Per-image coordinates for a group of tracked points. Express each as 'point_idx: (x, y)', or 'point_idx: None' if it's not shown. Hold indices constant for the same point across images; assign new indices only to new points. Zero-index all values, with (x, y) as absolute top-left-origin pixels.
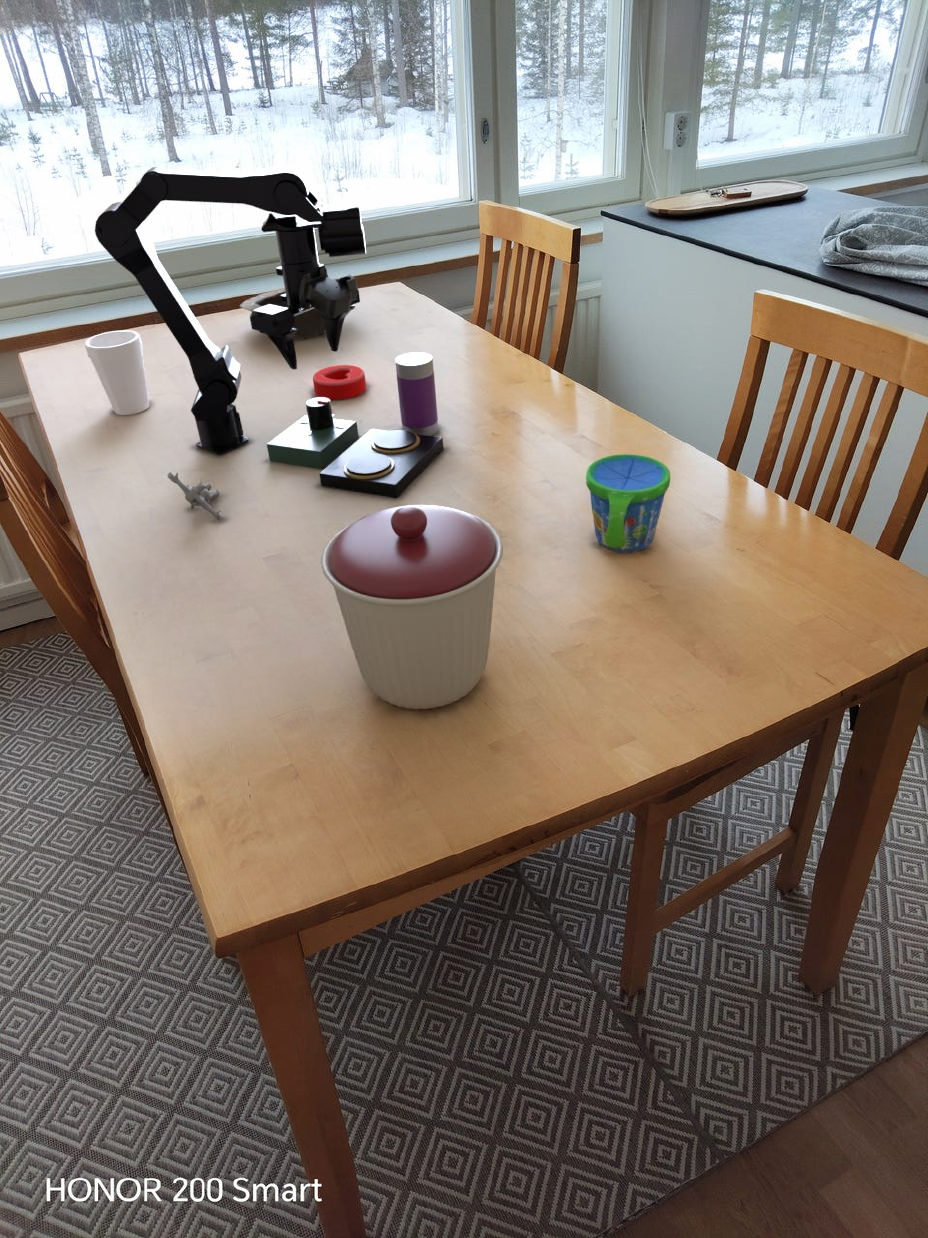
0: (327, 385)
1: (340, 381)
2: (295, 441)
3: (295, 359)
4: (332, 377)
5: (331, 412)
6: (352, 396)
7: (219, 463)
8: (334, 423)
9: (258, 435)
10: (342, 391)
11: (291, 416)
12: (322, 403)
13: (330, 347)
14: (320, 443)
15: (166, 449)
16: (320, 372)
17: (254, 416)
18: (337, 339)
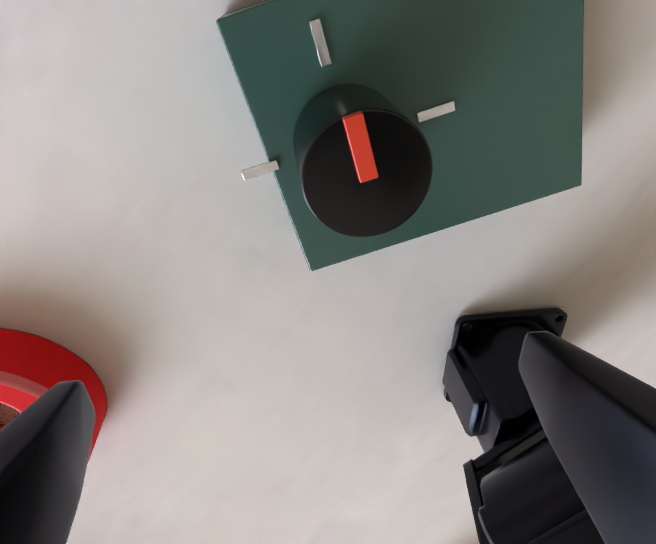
0: None
1: (16, 394)
2: (527, 103)
3: (596, 373)
4: None
5: (324, 106)
6: (9, 331)
7: (601, 271)
8: (303, 101)
9: (410, 329)
10: (36, 359)
11: (259, 357)
12: (372, 139)
13: (91, 439)
14: None
15: None
16: None
17: (323, 421)
18: (2, 457)
